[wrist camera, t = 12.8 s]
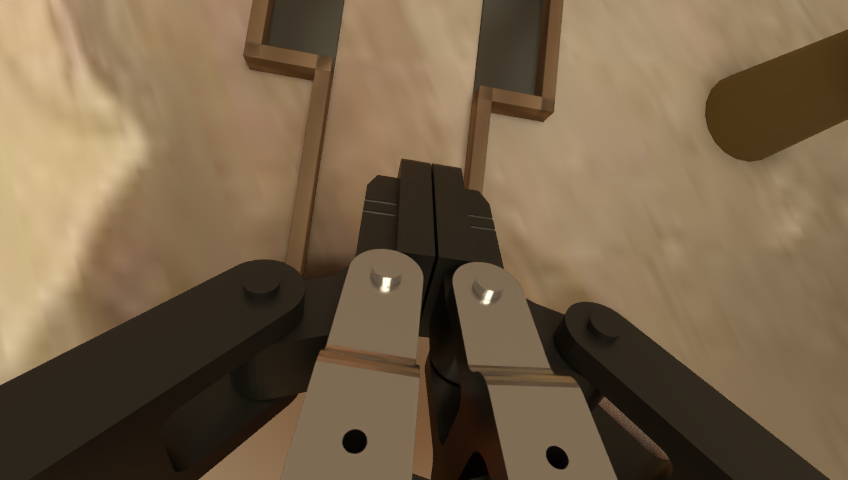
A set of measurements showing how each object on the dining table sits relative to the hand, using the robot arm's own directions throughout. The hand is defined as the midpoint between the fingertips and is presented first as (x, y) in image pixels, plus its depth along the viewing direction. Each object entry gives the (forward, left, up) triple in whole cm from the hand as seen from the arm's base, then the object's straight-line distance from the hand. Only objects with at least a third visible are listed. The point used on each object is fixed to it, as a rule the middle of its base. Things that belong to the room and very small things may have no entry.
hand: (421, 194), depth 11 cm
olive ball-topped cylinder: (-23, -12, -14) cm, 29 cm away
